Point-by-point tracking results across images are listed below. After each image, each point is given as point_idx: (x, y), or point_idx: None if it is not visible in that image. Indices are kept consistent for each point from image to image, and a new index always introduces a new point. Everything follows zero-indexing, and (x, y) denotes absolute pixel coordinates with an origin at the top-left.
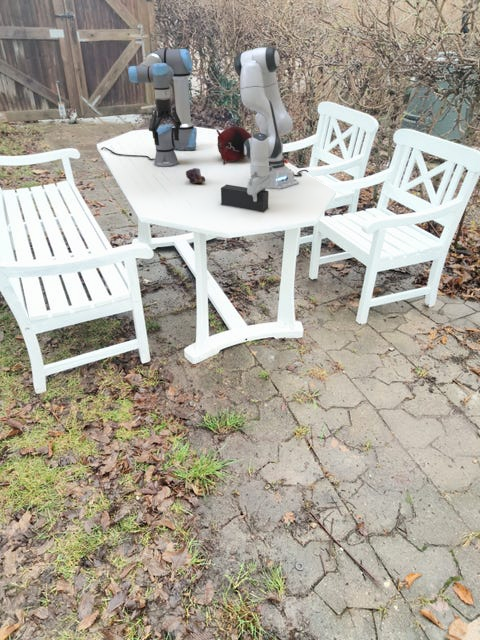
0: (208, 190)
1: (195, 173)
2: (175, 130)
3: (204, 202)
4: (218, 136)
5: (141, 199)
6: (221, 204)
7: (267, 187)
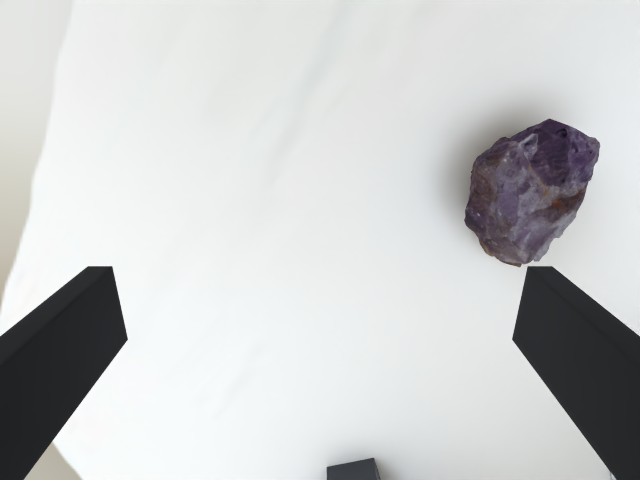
0: (433, 324)
1: (493, 244)
2: (633, 434)
3: (297, 412)
4: None
5: (82, 171)
6: (327, 468)
7: (611, 476)
